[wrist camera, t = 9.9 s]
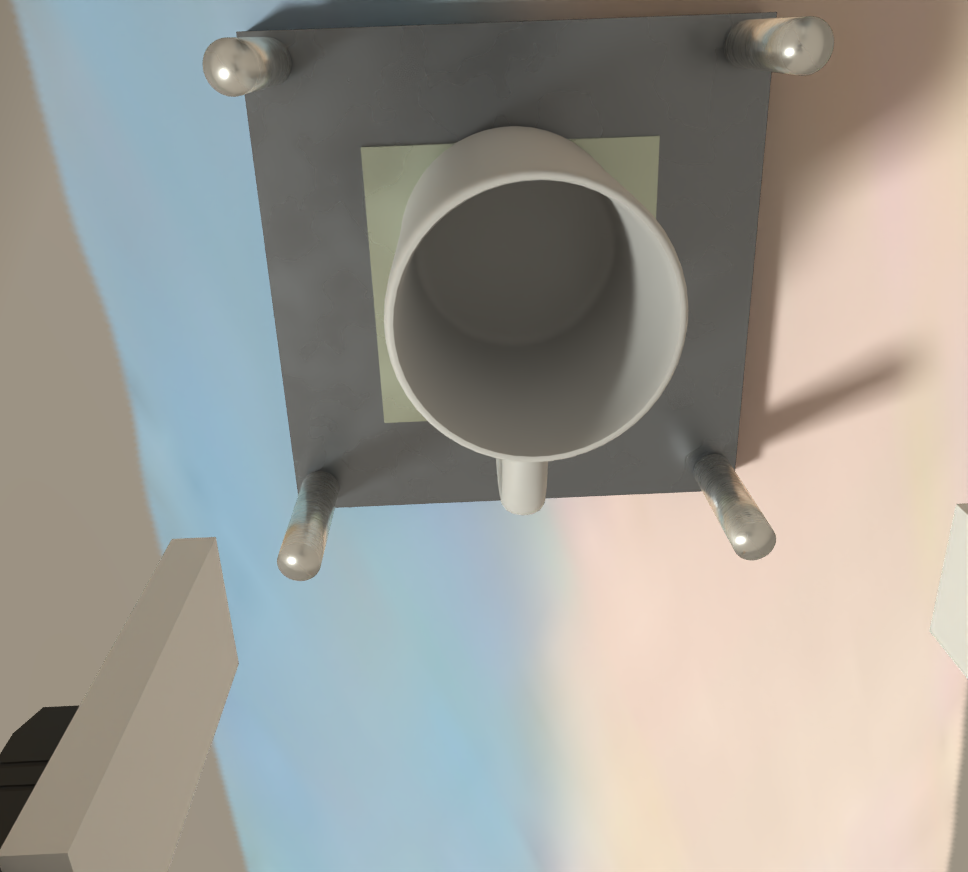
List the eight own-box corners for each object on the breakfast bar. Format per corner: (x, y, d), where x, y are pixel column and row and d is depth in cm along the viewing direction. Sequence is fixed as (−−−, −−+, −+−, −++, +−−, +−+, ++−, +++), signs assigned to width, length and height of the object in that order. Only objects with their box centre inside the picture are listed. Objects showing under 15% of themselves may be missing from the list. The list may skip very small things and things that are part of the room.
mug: (397, 124, 32) (372, 164, 22) (630, 124, 33) (709, 164, 23) (407, 427, 37) (391, 571, 27) (610, 425, 38) (667, 567, 28)
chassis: (245, 31, 33) (190, 31, 26) (763, 13, 33) (845, 7, 26) (305, 493, 40) (275, 586, 34) (723, 474, 41) (778, 563, 34)
